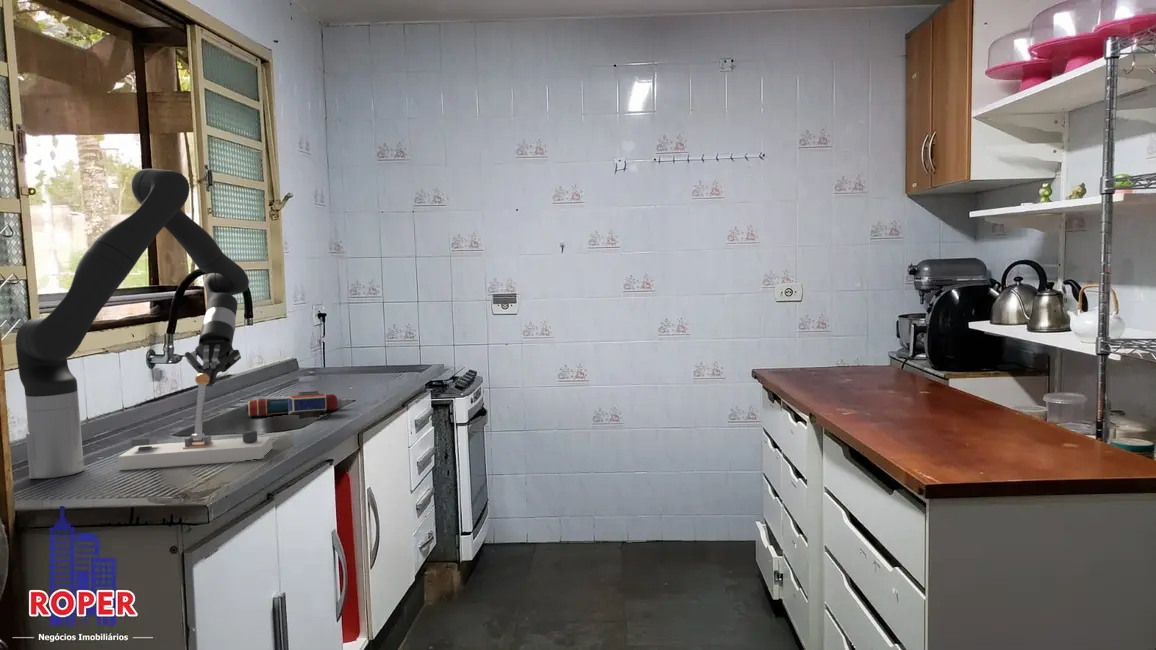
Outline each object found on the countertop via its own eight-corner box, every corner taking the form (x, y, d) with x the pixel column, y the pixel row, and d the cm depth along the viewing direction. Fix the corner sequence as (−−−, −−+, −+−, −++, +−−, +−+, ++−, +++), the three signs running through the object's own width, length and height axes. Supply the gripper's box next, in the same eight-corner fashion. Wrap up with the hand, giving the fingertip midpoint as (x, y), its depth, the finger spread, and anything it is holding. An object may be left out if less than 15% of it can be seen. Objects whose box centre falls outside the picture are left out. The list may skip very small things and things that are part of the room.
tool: (245, 400, 230) (245, 392, 212) (334, 394, 240) (341, 386, 221) (246, 426, 228) (245, 421, 210) (335, 420, 238) (342, 414, 220)
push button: (255, 441, 175) (255, 433, 175) (241, 442, 174) (241, 433, 174) (258, 439, 178) (258, 430, 178) (244, 440, 177) (244, 431, 177)
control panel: (262, 459, 172) (260, 437, 171) (119, 470, 166) (117, 447, 166) (272, 448, 182) (270, 427, 182) (138, 458, 177) (136, 436, 177)
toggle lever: (202, 439, 173) (208, 370, 179) (188, 440, 172) (194, 371, 179) (206, 443, 175) (211, 375, 182) (192, 444, 175) (197, 376, 181)
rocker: (149, 445, 170) (149, 438, 170) (131, 446, 169) (131, 439, 169) (157, 444, 175) (157, 437, 175) (139, 445, 174) (139, 439, 174)
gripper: (185, 320, 191) (173, 376, 180) (242, 318, 194) (234, 373, 182) (193, 340, 197) (182, 395, 186) (249, 337, 199) (240, 392, 188)
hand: (207, 384), depth 184 cm, fingers closed
